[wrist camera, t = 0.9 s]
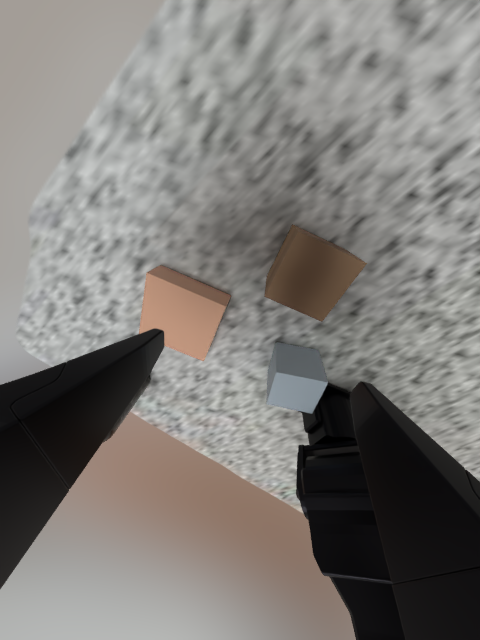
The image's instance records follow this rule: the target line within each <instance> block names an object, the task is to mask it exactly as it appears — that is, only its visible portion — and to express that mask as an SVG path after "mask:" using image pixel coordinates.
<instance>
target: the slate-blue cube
mask: <svg viewBox="0 0 480 640" xmlns="http://www.w3.org/2000/svg"><path fill="white" fill-rule="evenodd" d="M327 384H328V380H327V376H326V373H325V370H324V367H323V363H322V360H321V357H320V353H319V350H316V349H311V348H306V347H300V346H295V345H290V344H284V343H279V342H276V343H275V347H274V351H273V354H272V358H271V362H270V365H269V369H268V380H267V403H266V404H268V405H273V406H278V407H283V408H287V409H292V410H297V411H302V412H306V413H311V414H312V413H313V411H314V409H315V407H316V405H317V403H318V401H319V399H320V398H321V396H322V394H323V392H324V390H325V388H326V386H327Z"/></svg>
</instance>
